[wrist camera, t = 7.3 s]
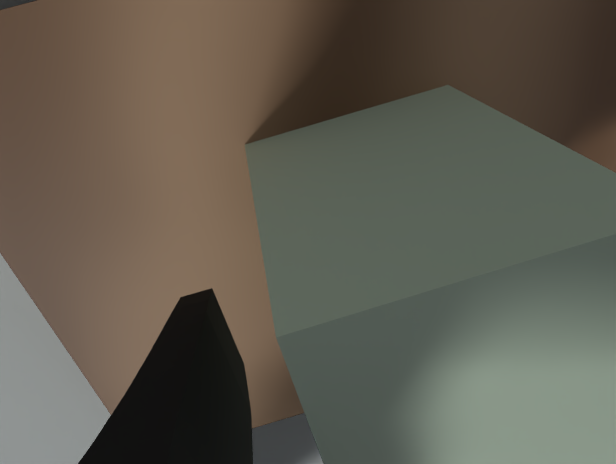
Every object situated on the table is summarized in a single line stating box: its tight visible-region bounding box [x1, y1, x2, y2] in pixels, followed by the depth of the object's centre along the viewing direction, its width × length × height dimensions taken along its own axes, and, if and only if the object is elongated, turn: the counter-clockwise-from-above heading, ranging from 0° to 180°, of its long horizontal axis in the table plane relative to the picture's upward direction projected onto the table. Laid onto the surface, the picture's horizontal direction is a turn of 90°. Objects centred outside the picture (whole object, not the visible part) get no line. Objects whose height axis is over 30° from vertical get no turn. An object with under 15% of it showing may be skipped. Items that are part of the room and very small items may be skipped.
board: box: [0, 0, 616, 428], centre depth 12 cm, size 16×12×2 cm
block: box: [245, 85, 616, 464], centre depth 9 cm, size 4×4×6 cm
